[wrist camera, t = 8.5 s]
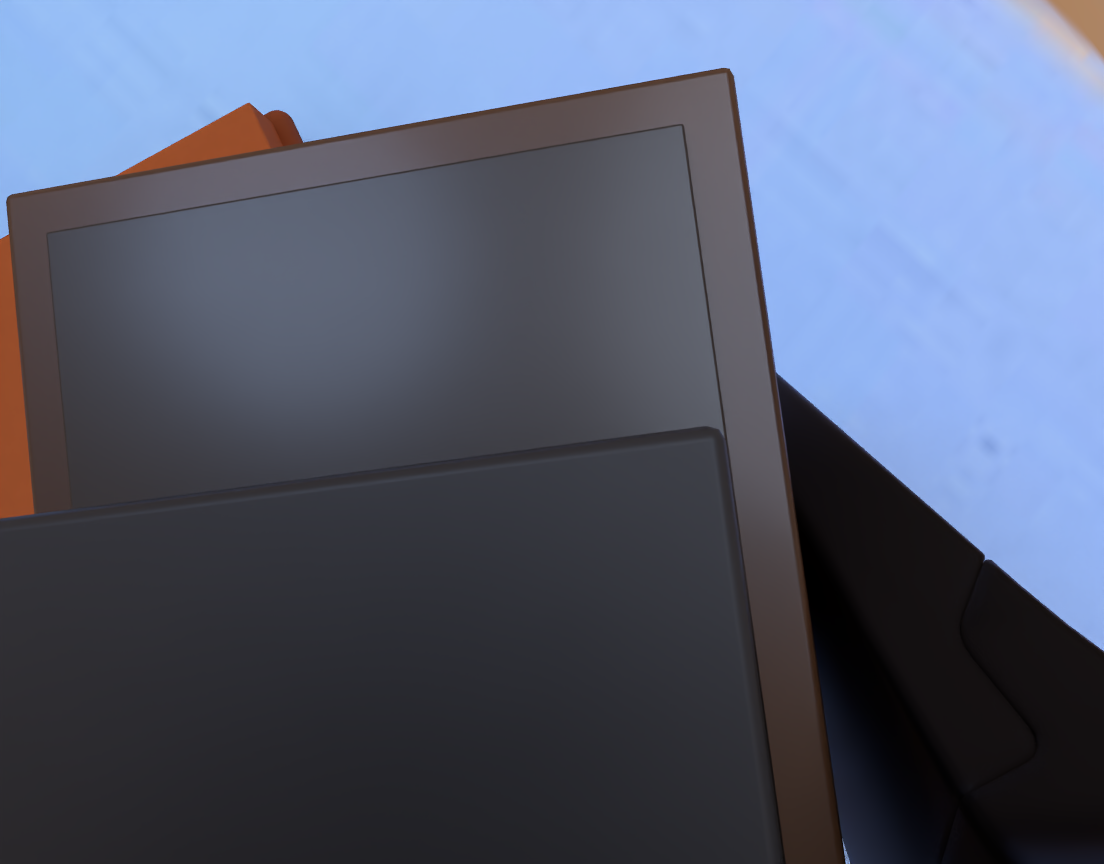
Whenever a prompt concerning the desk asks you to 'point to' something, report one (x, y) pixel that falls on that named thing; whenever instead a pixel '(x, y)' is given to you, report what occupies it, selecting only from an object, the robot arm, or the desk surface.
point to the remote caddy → (412, 505)
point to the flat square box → (3, 432)
